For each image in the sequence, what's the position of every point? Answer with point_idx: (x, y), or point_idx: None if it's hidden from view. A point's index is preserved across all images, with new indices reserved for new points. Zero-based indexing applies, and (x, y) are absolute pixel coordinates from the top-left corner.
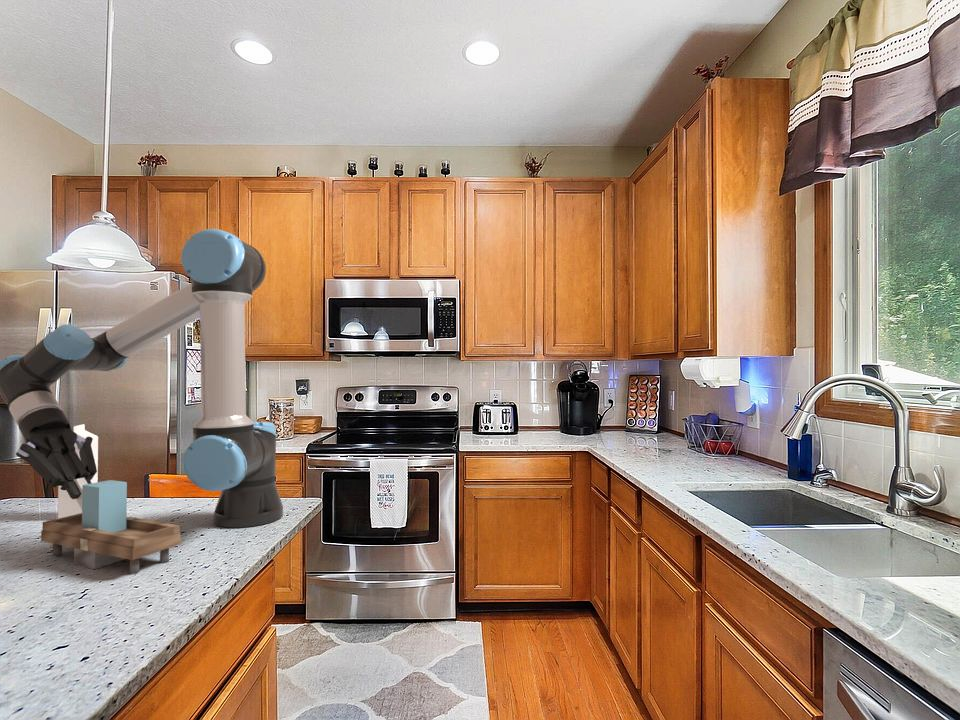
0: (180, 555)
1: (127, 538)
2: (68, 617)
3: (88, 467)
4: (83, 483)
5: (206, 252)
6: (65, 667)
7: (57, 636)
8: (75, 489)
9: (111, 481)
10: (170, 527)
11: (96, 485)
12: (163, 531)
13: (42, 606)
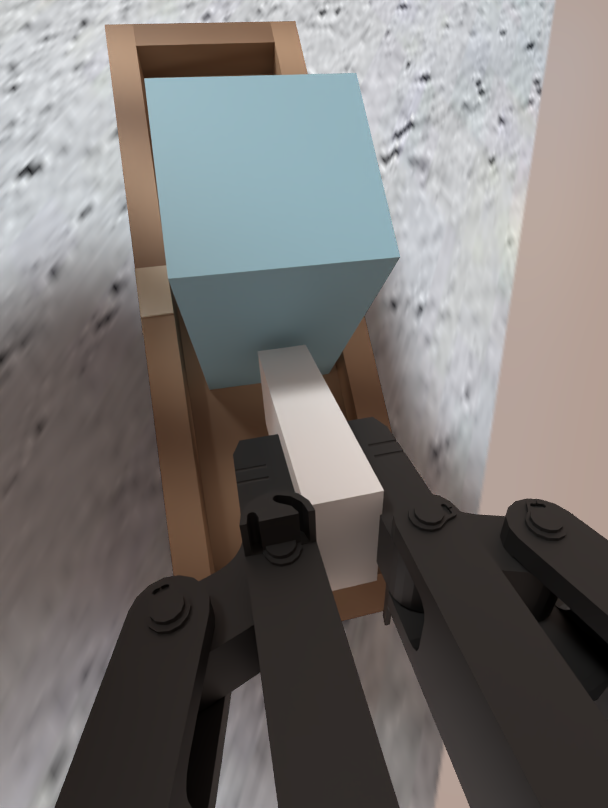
0: (109, 180)
1: (301, 51)
2: (456, 56)
3: (197, 704)
4: (322, 452)
5: None
6: None
7: (489, 4)
8: (375, 446)
9: (198, 204)
10: (142, 30)
11: (339, 152)
12: (180, 27)
13: (476, 148)
